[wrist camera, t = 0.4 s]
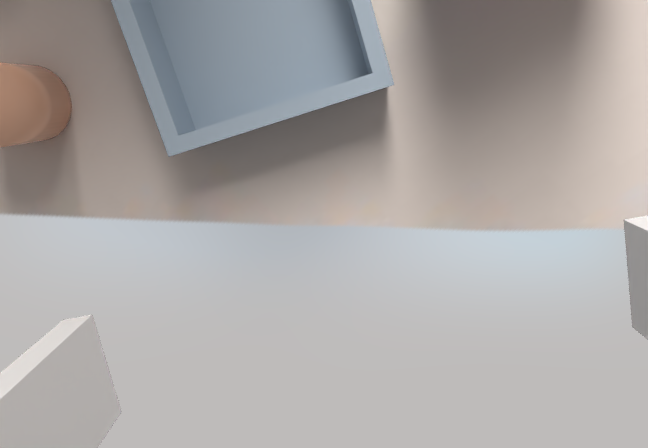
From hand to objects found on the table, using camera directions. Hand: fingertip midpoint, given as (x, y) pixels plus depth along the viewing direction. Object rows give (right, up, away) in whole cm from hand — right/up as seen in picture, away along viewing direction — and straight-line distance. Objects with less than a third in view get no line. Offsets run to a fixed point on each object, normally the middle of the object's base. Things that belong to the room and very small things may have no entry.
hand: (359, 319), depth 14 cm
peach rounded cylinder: (-20, +10, +25) cm, 34 cm away
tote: (-6, +18, +23) cm, 30 cm away
